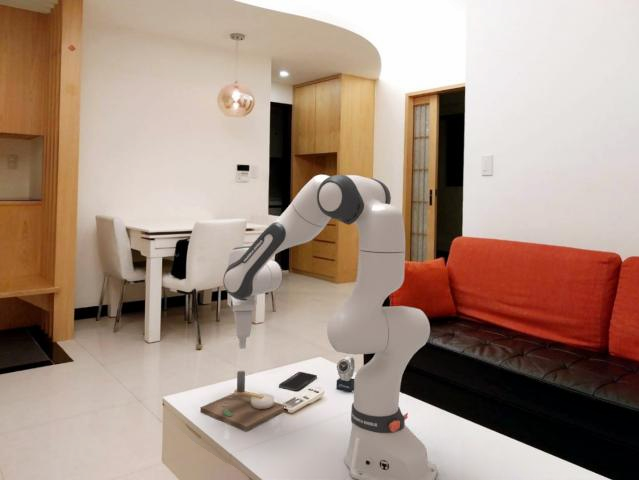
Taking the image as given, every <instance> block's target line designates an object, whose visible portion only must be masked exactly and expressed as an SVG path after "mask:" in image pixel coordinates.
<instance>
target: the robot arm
mask: <svg viewBox="0 0 639 480" xmlns="http://www.w3.org/2000/svg"><path fill="white" fill-rule="evenodd" d="M391 199H392V197H391V191H390V190H389V188H388V187H387V185H386V184H385V183H383V182H382V181H380V180H378V179H376V178H372V177H366V176H365V177H364V176H361V175H357V174H356V175H355V174H346V175H344V174H335V175H332V176H330V175H328V174H318V175H314V176H313V177H312V178H311V179H309V181H308V182H307V183H306V184H305V185H304V186H303V187H302V188H301V189H300V191H299V192H298V193H297V194H296V195H295V197H294V198H293V200H292V201H291V203H290V204H289V205H288V207H286V209H285V210H284V211H283V212H282V213H281V214H280V215H279V217H277V219H275V220H274V221H273V222H272V223H271V224H269V225H268V227H266V228H265V229H264V231H262V233H260V234H259V236H258V237H257V238H256V239H255V240H254V242H253V243H252V244H251V245H248V246H238V247H234V248H232V249H231V250H230V253H229V255H228V256H229V257H228V260H227V261H228V263H227V268H226V270H225V272H224V274H223V286H224V288H225V291H226V292H227V306H229V307H230V309H231V311H232V312H233V314H234V322H235V330H236V336H237V338H238V339H239V340H238V341H239V345H238V347H239V349H240V350H243V349H246V347H247V346H246V343H247V338H249V337H250V335H251V331H252V323H253V313H254V311H255V309H256V306H257V303H258V295H261V294H266V293H271V292H274V291H277V290H278V289H279V288H280V286H281V285H282V283H283V280H284V279H283V277H284V274H283V273H284V272H283V270H282V267H281V265H280V264H279V263H278V262H277V261H276V260H273V257H275V255H276V254H278V253H281V251H284V250H286V249H289V248H292V247H295V246H298V245H302V244H305V243H309V242H310V241H312V240H313V239H315V238H316V237H317V236H318V235H319V234H320V233H321V232H322V231H323V230H324V229H325V227H326V226H327V225H328V223H329V222H330V220H331V219H333V220H335V221H339V222H341V223H343V224H345V225H352V224H353V225H355V226H356V227H357V230H358V234H359V237H358V241H359V242H358V257H357V258H358V261H357V271H356V279H355V284H354V287H353V289H352V292H351V293H350V296H349V297H348V299H347V300H346V301H345V303H343V305H342V306H341V307H340V308H339V309H338V310H336V311H335V312H334V313H333V314H332V315H331V317H330V318H329V320H328V323H327V328H326V334H327V339H328V342H329V344H330V346H331V348H333V349H334V351H336V352H338V353H343V354H349V355H357V356H358V355H369V354H374V355H373V357H372V358H371V359H370V360H369V361H368V362H367V363H366V364H363V365H362V366H360V368H359V369H358V370H357V371H356V373H355V376H354V378H353V379H354V391H353V402H352V404H351V412H350V413H351V414H350V421H351V431H350V436H349V437H350V438H349V442H348V446H347V449H346V450H347V451H346V453H345V456H344V462H345V464H346V466H347V467H348V469H349V475H350V477H351V478H353V479H355V480H436V478H437V477H438V469H437V466H436V464H434V463H433V462H431V461H429V457H428V453H427V452H428V451H427V448H426V446H425V444H424V443H423V442H422V440H420V439H419V438H418V437H417V435H415V433H414V432H413V431H411V430H410V428H409V427H408V426H407V425H406V424H405V421H406V420H407V419H408V418H409V416H408V415H409V412H407V413H405V414H403V413H402V411H401V409H400V406H399V405H400V392H401V385H402V384H401V383H402V378H403V374H404V371H405V370H406V368H407V365H408V364H409V362H410V360H411V359H412V358H413V356H414V355H415V354H416V353H417V352H418V351H419V350H420V349H421V348H422V347H423V346H425V345H426V343H427V342H428V340H429V337H430V334H431V326H430V321H429V319H428V317H427V315H426V314H425V312H424V311H423V310H421V309H419V308H416V307H411V306H405V305H398V306H395V305H393V306H383V304H384V302H385V300H386V299H387V298H388V297H389V295H391V294H392V293H395V292H396V291H397V290H399V289H400V288H401V287H402V286H403V284H404V281H405V268H406V267H405V265H406V230H405V229H406V228H405V222H404V217H403V214H402V211H401V210H400V209H399V208H398V207H396V206H395V205H393V204H391V201H392V200H391Z"/></svg>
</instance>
